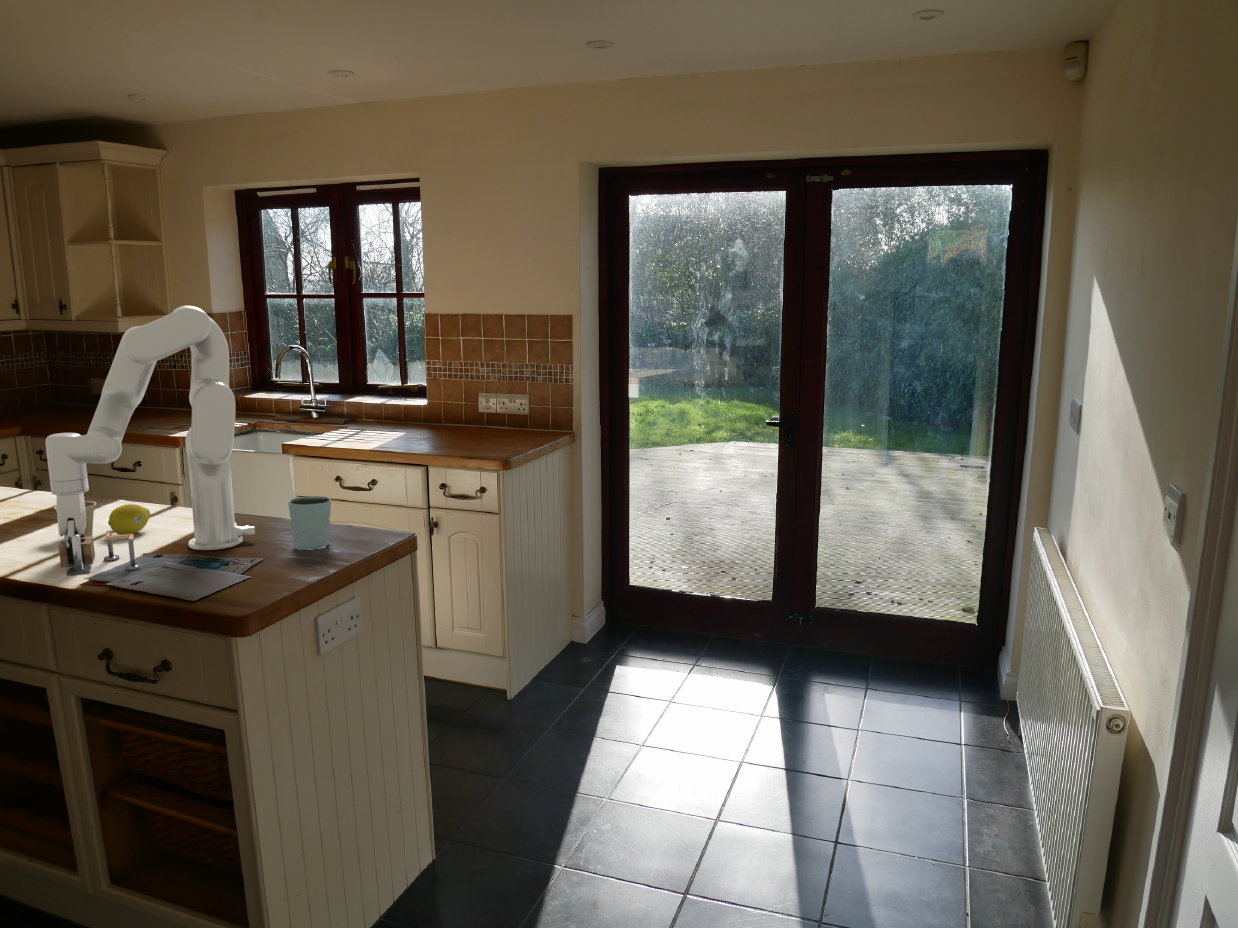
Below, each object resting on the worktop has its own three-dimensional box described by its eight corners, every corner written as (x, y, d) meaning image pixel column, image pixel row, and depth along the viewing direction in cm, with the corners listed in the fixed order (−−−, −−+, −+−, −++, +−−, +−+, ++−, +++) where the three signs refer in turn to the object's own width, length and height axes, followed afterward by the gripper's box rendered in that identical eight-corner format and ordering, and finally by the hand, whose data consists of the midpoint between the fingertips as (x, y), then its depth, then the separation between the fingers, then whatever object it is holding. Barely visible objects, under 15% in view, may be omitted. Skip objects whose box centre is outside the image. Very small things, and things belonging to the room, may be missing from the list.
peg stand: (91, 567, 203) (87, 531, 201) (89, 572, 199) (85, 536, 198) (69, 569, 201) (65, 533, 199) (67, 575, 197) (62, 538, 196)
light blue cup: (282, 547, 220) (279, 501, 218) (313, 538, 229) (310, 493, 226) (311, 553, 215) (308, 506, 213) (341, 543, 224) (339, 498, 222)
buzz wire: (114, 556, 211) (111, 528, 210) (151, 565, 205) (148, 536, 204) (93, 562, 207) (90, 533, 206) (131, 571, 201) (128, 541, 199)
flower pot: (108, 532, 232) (104, 501, 231) (83, 542, 223) (79, 509, 222) (75, 531, 233) (71, 500, 232) (49, 541, 224) (45, 508, 222)
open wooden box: (95, 556, 212) (92, 536, 211) (92, 563, 206) (90, 542, 205) (64, 559, 209) (61, 539, 208) (60, 566, 203) (58, 546, 202)
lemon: (115, 540, 225) (112, 510, 224) (103, 535, 230) (99, 505, 229) (158, 532, 233) (155, 503, 232) (146, 527, 238) (143, 498, 237)
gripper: (55, 480, 210) (63, 551, 213) (45, 494, 195) (54, 571, 198) (91, 477, 213) (99, 548, 217) (84, 491, 198) (93, 567, 202)
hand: (77, 558), depth 207 cm, fingers closed on open wooden box, 6 cm apart
